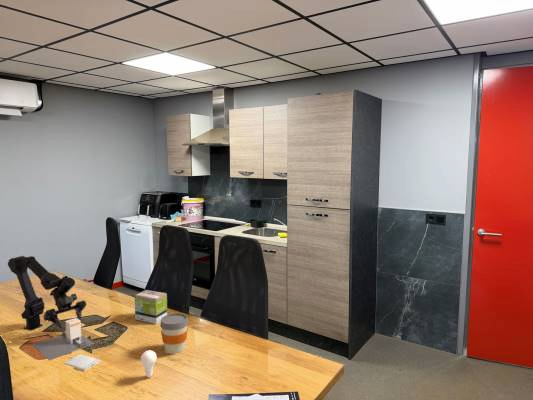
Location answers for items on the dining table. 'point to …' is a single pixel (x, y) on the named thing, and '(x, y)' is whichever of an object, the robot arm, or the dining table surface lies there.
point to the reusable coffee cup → (174, 332)
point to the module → (73, 330)
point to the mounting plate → (59, 346)
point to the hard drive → (82, 362)
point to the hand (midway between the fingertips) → (71, 325)
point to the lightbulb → (148, 362)
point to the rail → (76, 341)
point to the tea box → (150, 306)
